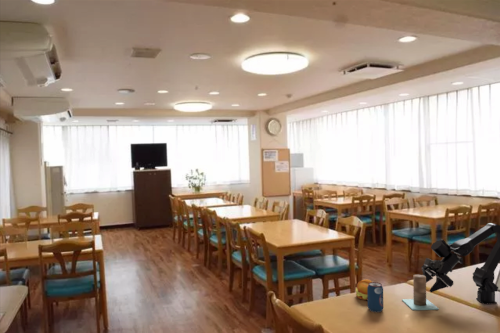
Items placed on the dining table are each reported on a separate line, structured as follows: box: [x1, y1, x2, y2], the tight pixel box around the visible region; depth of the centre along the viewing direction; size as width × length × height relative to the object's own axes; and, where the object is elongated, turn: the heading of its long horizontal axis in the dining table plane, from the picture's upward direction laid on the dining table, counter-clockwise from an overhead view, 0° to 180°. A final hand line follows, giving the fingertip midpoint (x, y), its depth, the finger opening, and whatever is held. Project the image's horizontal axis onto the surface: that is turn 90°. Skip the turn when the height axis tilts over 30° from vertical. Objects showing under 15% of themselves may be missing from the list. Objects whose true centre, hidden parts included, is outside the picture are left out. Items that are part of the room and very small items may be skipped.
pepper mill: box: [412, 274, 427, 306], centre depth 185 cm, size 6×6×13 cm
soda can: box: [367, 281, 384, 313], centre depth 181 cm, size 7×7×12 cm
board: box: [401, 298, 439, 311], centre depth 186 cm, size 12×12×1 cm
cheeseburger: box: [355, 279, 373, 301], centre depth 196 cm, size 10×11×10 cm
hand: (425, 288), depth 186 cm, fingers open, 9 cm apart
